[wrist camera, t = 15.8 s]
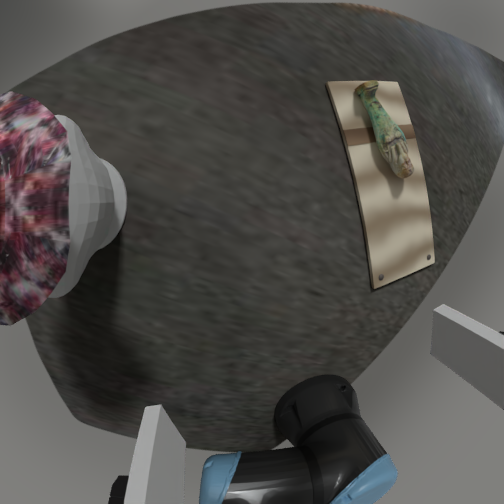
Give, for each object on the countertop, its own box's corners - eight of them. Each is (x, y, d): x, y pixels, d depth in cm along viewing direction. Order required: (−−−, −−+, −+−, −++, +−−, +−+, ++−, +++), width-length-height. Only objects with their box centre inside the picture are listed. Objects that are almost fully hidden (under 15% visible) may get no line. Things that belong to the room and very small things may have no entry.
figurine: (377, 85, 33) (390, 78, 30) (408, 175, 37) (423, 174, 33) (350, 88, 33) (362, 79, 29) (383, 183, 36) (398, 182, 33)
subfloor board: (431, 261, 41) (434, 262, 40) (371, 287, 40) (374, 289, 39) (394, 83, 35) (397, 81, 34) (325, 83, 33) (327, 81, 33)
